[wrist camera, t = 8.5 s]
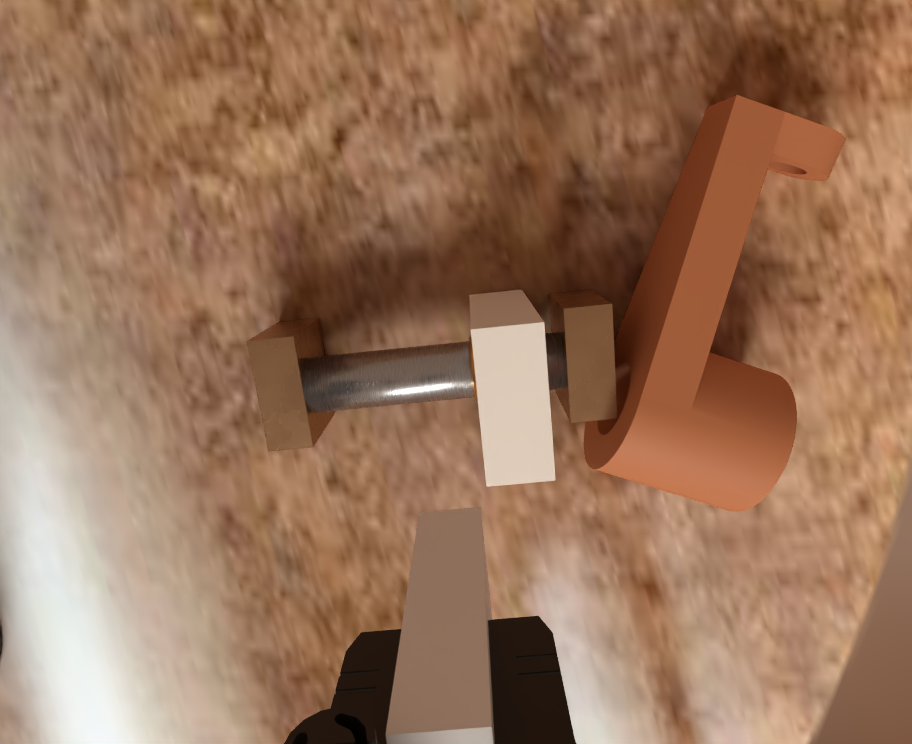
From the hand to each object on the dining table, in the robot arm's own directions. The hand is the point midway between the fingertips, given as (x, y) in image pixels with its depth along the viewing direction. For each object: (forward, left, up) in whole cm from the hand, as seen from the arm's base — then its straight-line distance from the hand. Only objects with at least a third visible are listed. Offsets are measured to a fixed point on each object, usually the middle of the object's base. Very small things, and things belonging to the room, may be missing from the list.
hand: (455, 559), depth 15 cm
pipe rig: (-1, 0, -22) cm, 22 cm away
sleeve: (+2, 0, -22) cm, 22 cm away
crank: (+14, +2, -23) cm, 27 cm away
